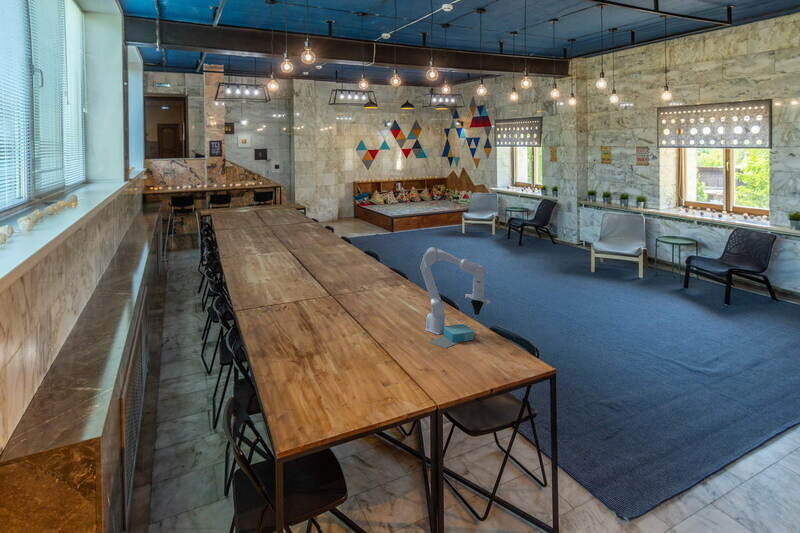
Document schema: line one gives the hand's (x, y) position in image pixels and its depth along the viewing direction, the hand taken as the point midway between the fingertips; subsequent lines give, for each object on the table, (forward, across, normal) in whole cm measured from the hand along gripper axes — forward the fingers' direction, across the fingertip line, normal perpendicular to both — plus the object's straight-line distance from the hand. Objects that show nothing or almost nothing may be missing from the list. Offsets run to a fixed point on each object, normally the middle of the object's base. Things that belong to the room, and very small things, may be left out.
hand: (477, 314), depth 256 cm
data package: (+8, -3, +14) cm, 16 cm away
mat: (+10, +4, +15) cm, 19 cm away
